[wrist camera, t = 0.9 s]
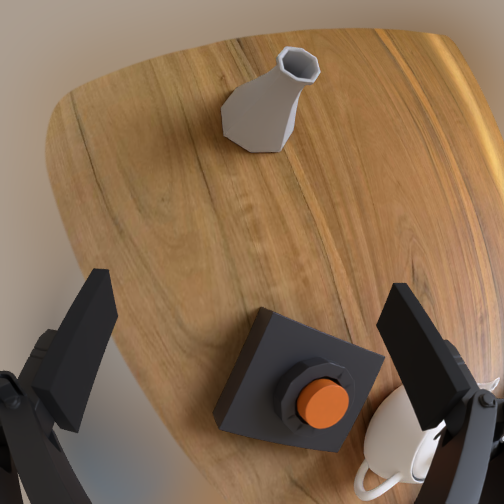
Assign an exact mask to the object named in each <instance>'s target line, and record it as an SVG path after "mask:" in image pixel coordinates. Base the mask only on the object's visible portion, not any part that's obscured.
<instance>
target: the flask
mask: <svg viewBox="0 0 504 504" xmlns="http://www.w3.org/2000/svg"><path fill="white" fill-rule="evenodd" d="M276 62H277V65H276V66H275V67H274V68H273V69H271V70H270V71H269V72H268V73H266V74H264V75H262V76H260V77H258V78H256V79H254V80H252V81H250V82H247V83H245V84H243V85H241V86H239V87H237V88H236V89H235V90H234V91H233V93H232V94H231V95H230V97H229V98H228V99H227V100H226V102H225V103H224V104H223V106H222V107H221V115H222V125H223V135H224V136H225V137H227V138H229V139H230V140H232V141H233V142H235V143H237V144H238V145H240V146H241V147H243V148H244V149H246V150H248V151H249V152H280V151H281V149H282V148H283V146H284V144H285V143H286V141H287V139H288V138H289V136H290V135H291V133H292V131H293V128H294V122H295V114H296V109H297V104H298V99H299V95H300V93H301V91H302V89H303V88H304V86H305V85H312V84H313V83H314V81H315V80H316V78H317V77H318V75H319V74H320V68H319V65H318V61H317V58H316V57H314V56H313V55H311V54H310V53H308V52H307V51H305V50H304V49H302V48H295V47H288V46H286V47H285V48H284V49H283V50H282V51H281V53H280V54H279V55H278V56H277V58H276Z"/></svg>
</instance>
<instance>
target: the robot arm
mask: <svg viewBox="0 0 504 504" xmlns="http://www.w3.org/2000/svg"><path fill="white" fill-rule="evenodd" d="M117 318H118V314H117V309H116V304H115V300H114V295H113V290H112V285H111V279H110V274H109V270H108V269H95V268H94V269H93V270H92V272H91V273H90V275H89V277H88V278H87V280H86V282H85V283H84V285H83V287H82V288H81V290H80V292H79V293H78V295H77V297H76V298H75V300H74V302H73V304H72V305H71V307H70V309H69V311H68V312H67V314H66V316H65V318H64V320H63V321H62V323H61V325H60V327H59V329H58V331H56V330H50V329H48V330H47V331H46V332H45V333H43V334H42V335H41V336H40V337H39V339H38V341H37V343H36V344H35V346H34V349H33V350H32V352H31V354H30V357H29V358H28V360H27V362H26V363H25V365H24V367H23V369H22V371H21V373H20V375H19V377H18V379H17V378H16V377H15V375H14V374H12V373H11V372H9V371H0V504H23V500H22V495H21V489H20V485H19V478H18V474H19V477H20V479H21V482H22V484H23V487H24V489H25V491H26V494H27V496H28V498H29V500H30V503H31V504H92V503H91V501H90V499H89V498H88V496H87V494H86V493H85V491H84V489H83V487H82V486H81V484H80V482H79V480H78V479H77V477H76V475H75V473H74V471H73V469H72V467H71V465H70V464H69V461H68V460H67V457H66V455H65V453H64V452H63V449H62V447H61V445H60V443H59V441H58V438H57V436H56V434H55V432H54V431H53V429H52V428H53V425H54V422H56V423H57V425H58V426H59V427H60V428H61V429H64V430H68V431H72V432H75V433H78V431H79V427H80V424H81V421H82V418H83V414H84V411H85V408H86V404H87V401H88V398H89V395H90V392H91V389H92V386H93V383H94V380H95V377H96V374H97V371H98V368H99V366H100V363H101V360H102V357H103V354H104V352H105V349H106V346H107V343H108V341H109V338H110V336H111V333H112V331H113V328H114V326H115V323H116V320H117ZM376 326H377V328H378V330H379V332H380V335H381V337H382V339H383V341H384V343H385V345H386V347H387V350H388V352H389V354H390V356H391V358H392V361H393V363H394V365H395V367H396V370H397V372H398V374H399V376H400V379H401V381H402V383H403V386H404V388H405V390H406V393H407V395H408V397H409V400H410V402H411V405H412V407H413V410H414V412H415V415H416V417H417V420H418V422H419V425H420V427H421V430H422V431H426V430H430V429H433V428H436V427H437V426H438V425H439V424H440V423H441V422H442V421H443V420H444V422H445V424H446V426H445V427H444V428H443V429H442V430H441V431H440V432H439V433H438V434H437V435H436V436H435V437H434V439H433V440H436V439H437V438H438V437H439V436H440V435H441V436H440V439H439V441H438V445H437V448H436V451H435V454H434V457H433V459H432V462H431V465H430V467H429V470H428V473H427V475H426V478H425V480H424V483H423V485H422V487H421V490H420V492H419V494H418V497H417V499H416V501H415V503H414V504H504V442H503V440H502V437H503V436H504V399H498V398H495V396H494V395H493V394H492V393H491V392H490V391H488V390H486V389H480V388H479V387H478V385H477V383H476V381H475V379H474V378H473V376H472V374H471V372H470V371H469V369H468V367H467V366H466V364H464V363H465V362H464V361H463V359H462V357H460V354H459V352H458V351H457V349H456V347H455V346H454V345H453V344H451V343H450V342H449V341H448V340H443V339H442V337H441V335H440V334H439V332H438V331H437V329H436V327H435V326H434V324H433V323H432V321H431V319H430V318H429V316H428V315H427V313H426V312H425V310H424V309H423V307H422V306H421V304H420V303H419V301H418V300H417V298H416V297H415V295H414V294H413V292H412V291H411V289H410V288H409V287H408V285H407V284H406V283H393V285H392V288H391V290H390V293H389V295H388V298H387V300H386V303H385V305H384V308H383V310H382V313H381V315H380V317H379V320H378V322H377V324H376Z"/></svg>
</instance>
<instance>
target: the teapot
mask: <svg viewBox="0 0 504 504" xmlns="http://www.w3.org/2000/svg"><path fill="white" fill-rule="evenodd" d="M499 380H500V378H497V379H495V380H493V381H491V382H489V383H483V384H481V383H477V385H478V387H479V388H480V389H486V390H488V391H490V392H491V391H492V390H494V388H495V387H496V386H497V384H498V383H499ZM445 426H446V424H445V422H444V420H443V421H442V422H441V423H440V424H439V425H438V426H437V427H436V428H433V429H430V430H426V431H422V430H421V427H420V425H419V422H418V420H417V417H416V415H415V412H414V410H413V407H412V405H411V402H410V400H409V397H408V395H407V393H406V390H405V388H404V386H403V384H402V385H401V386H400V387H398V388H397V389H396V390H394V391H393V392H392V393H391V394H390V395H389V396H388V397H387V398H386V399H385V400H384V401H383V402H382V403H381V405H380V406H379V407H378V409H377V410H376V412H375V413H374V415H373V417H372V419H371V421H370V423H369V426H368V429H367V432H366V435H365V440H364V456H365V459H364V461H363V462H362V464H361V466H360V468H359V469H358V472H357V474H356V477H355V480H354V491H355V493H356V495H357V496H358V498H359V499H361V500H364V501H369V500H372V499H374V498H376V497H378V496H380V495H381V494H383V493H384V492H386V491H387V490H389V489H390V488H391V487H392V486H394V485H395V484H396V483H398V482H403V483H415V484H418V483H424V480H425V478H426V475H427V473H428V470H429V467H430V465H431V462H432V459H433V457H434V454H435V451H436V448H437V445H438V441H439V439H440V436H441V435H440V436H439V437H438V438H437V439H436V440H433V439H434V437H435V436H436V435H437V434H438V433H439V432H440V431H441V430H442V429H443V428H444V427H445ZM368 468H370V469H371V470H372V471H373V472H374V473H376V474H377V475H379V476H380V477H382V478H385V479H387V480H386V481H385V482H383V483H382V484H381V485H379V486H378V487H376V488H374V489H372V490H370V491H365V489H364V487H363V479H364V476H365V474H366V472H367V470H368Z"/></svg>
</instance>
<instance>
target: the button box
mask: <svg viewBox="0 0 504 504" xmlns="http://www.w3.org/2000/svg"><path fill="white" fill-rule="evenodd" d="M384 359H385V356H382V355H380V354H377V353H375V352H372V351H369V350H367V349H364V348H362V347H359V346H356V345H354V344H351V343H349V342H346V341H344V340H341V339H339V338H336V337H334V336H331V335H329V334H326V333H324V332H321V331H319V330H316V329H314V328H311V327H309V326H306V325H304V324H302V323H299V322H297V321H294V320H292V319H290V318H287V317H285V316H282V315H280V314H278V313H275V312H273V311H271V310H268V309H266V308H264V307H261V308H260V310H259V313H258V315H257V317H256V319H255V322H254V324H253V326H252V328H251V331H250V333H249V335H248V337H247V340H246V342H245V344H244V346H243V348H242V351H241V353H240V355H239V357H238V359H237V362H236V364H235V366H234V368H233V370H232V373H231V375H230V377H229V379H228V381H227V383H226V385H225V388H224V390H223V392H222V394H221V396H220V398H219V400H218V403H217V405H216V407H215V409H214V411H213V416H214V418H215V421H216V423H217V426H218V428H219V430H223V431H227V432H230V433H234V434H238V435H242V436H246V437H251V438H255V439H259V440H264V441H269V442H274V443H279V444H284V445H289V446H295V447H301V448H307V449H314V450H321V451H328V452H337V453H338V451H339V449H340V448H341V446H342V444H343V442H344V441H345V439H346V437H347V435H348V433H349V432H350V430H351V428H352V426H353V424H354V422H355V420H356V418H357V417H358V415H359V413H360V411H361V409H362V407H363V405H364V403H365V401H366V399H367V396H368V394H369V392H370V390H371V388H372V386H373V384H374V382H375V379H376V377H377V375H378V373H379V371H380V368H381V366H382V364H383V361H384ZM318 379H329V380H331V381H333V382H334V383H336V384H338V385H339V386H341V387H342V388H344V389H345V391H346V392H347V394H348V398H349V403H348V408H347V410H346V412H345V414H344V416H343V417H342V418H341V419H340V420H339V421H338V422H337V423H336V424H334V425H332V426H330V427H328V428H323V429H318V428H314V427H312V426H310V425H309V424H308V423H307V422H306V421H305V420H304V419H303V418H302V417H301V416H300V415H299V413H298V411H297V400H298V397H299V394H300V393H301V391H302V390H303V389H304V388H305V387H306V386H307V385H308V384H309V383H311V382H313V381H315V380H318Z"/></svg>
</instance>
